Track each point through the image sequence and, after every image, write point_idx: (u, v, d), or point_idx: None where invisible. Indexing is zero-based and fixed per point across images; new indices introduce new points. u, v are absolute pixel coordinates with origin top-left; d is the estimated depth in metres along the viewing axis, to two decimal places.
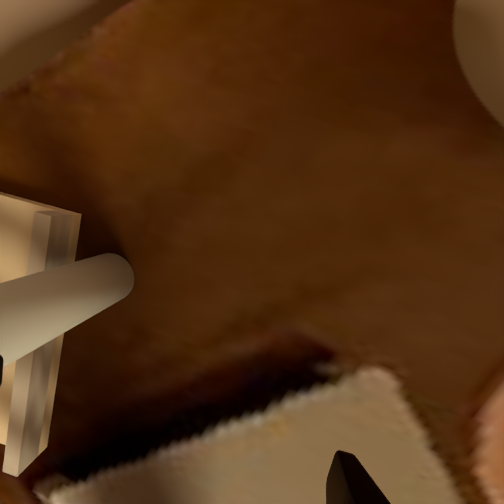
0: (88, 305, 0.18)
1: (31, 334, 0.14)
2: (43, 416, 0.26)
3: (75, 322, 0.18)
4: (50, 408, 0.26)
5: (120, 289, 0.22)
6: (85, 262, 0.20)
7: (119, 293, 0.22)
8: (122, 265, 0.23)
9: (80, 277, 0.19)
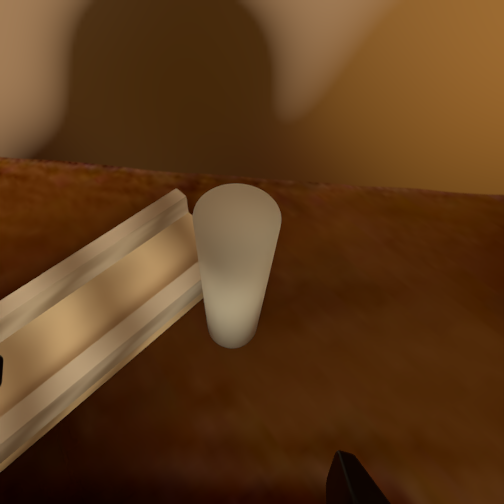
0: (257, 309, 0.19)
1: (265, 275, 0.15)
2: (42, 427, 0.19)
3: (247, 312, 0.18)
4: (50, 427, 0.19)
5: (253, 330, 0.22)
6: None
7: (249, 333, 0.21)
8: None
9: None
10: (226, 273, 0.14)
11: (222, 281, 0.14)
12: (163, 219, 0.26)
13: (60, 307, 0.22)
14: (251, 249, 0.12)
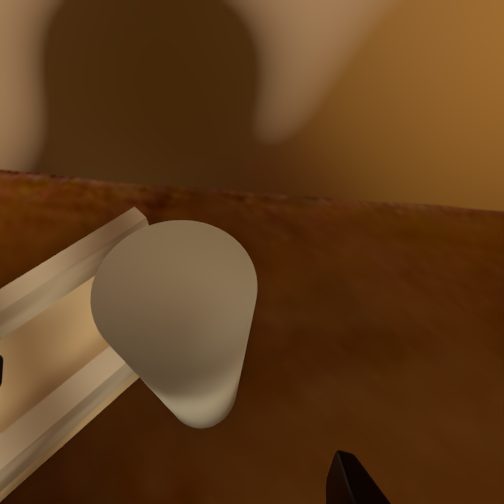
0: (231, 395, 0.13)
1: (234, 368, 0.09)
2: None
3: (213, 406, 0.12)
4: None
5: (228, 409, 0.16)
6: None
7: (223, 414, 0.15)
8: None
9: None
10: (160, 383, 0.08)
11: (158, 387, 0.08)
12: None
13: None
14: (196, 357, 0.06)
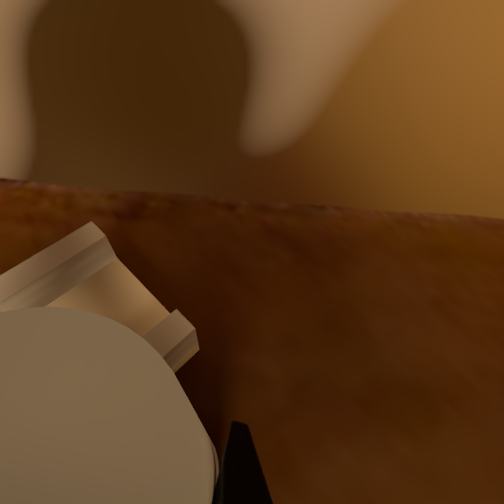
0: None
1: None
2: None
3: None
4: None
5: None
6: None
7: None
8: None
9: (215, 456, 0.09)
10: None
11: None
12: (65, 275, 0.15)
13: None
14: None
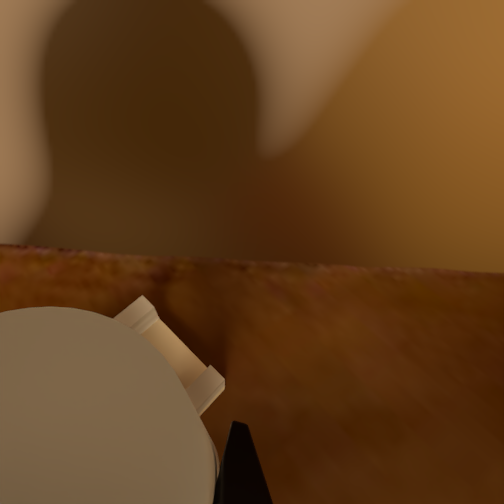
0: None
1: None
2: None
3: None
4: None
5: None
6: None
7: None
8: None
9: (216, 456, 0.09)
10: None
11: None
12: None
13: None
14: None
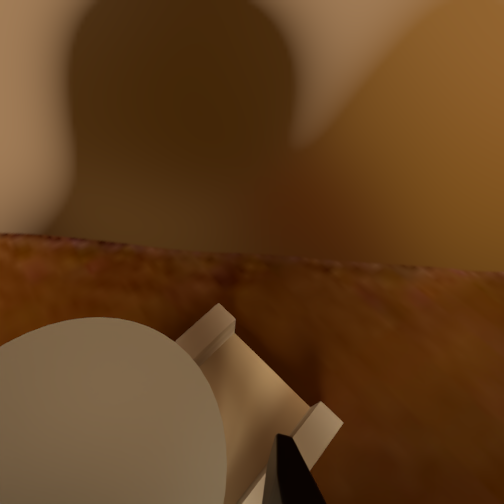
0: None
1: None
2: None
3: None
4: None
5: None
6: None
7: None
8: None
9: None
10: None
11: None
12: (198, 360, 0.15)
13: None
14: None
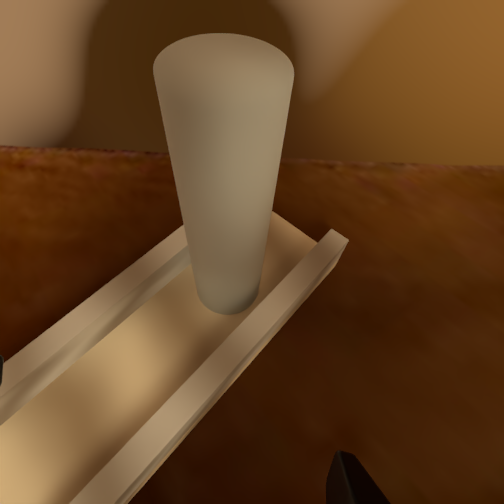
0: (260, 251, 0.14)
1: (270, 181, 0.10)
2: None
3: (246, 251, 0.13)
4: (129, 500, 0.14)
5: (254, 288, 0.17)
6: None
7: (249, 292, 0.17)
8: None
9: None
10: (212, 163, 0.09)
11: (206, 184, 0.10)
12: None
13: (122, 332, 0.17)
14: (249, 105, 0.08)
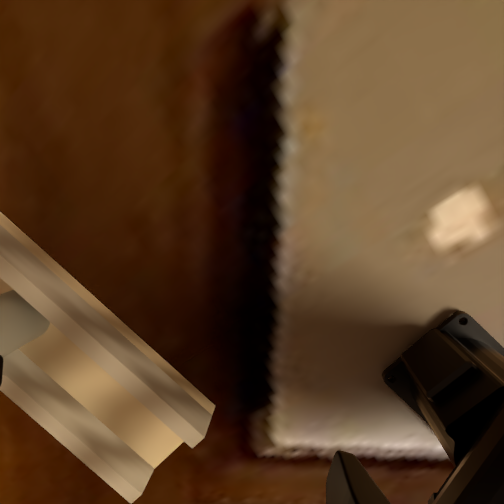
0: None
1: None
2: (171, 378, 0.22)
3: None
4: (174, 371, 0.23)
5: (15, 303, 0.20)
6: None
7: (18, 307, 0.20)
8: (8, 292, 0.21)
9: None
10: None
11: None
12: None
13: (72, 389, 0.23)
14: None
